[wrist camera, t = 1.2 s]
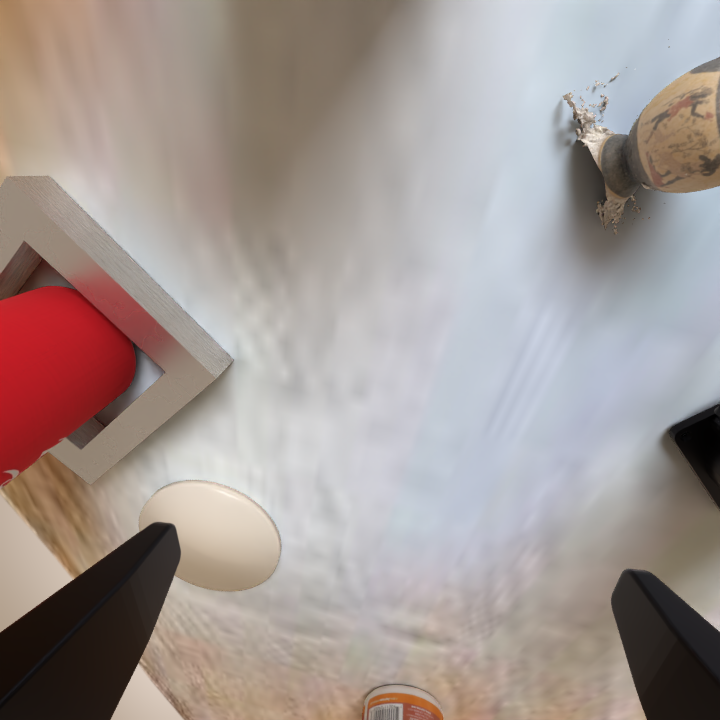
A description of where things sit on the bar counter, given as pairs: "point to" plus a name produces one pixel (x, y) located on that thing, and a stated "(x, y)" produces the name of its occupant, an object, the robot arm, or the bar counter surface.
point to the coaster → (216, 534)
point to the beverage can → (54, 371)
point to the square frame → (117, 302)
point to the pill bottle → (401, 704)
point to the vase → (659, 142)
